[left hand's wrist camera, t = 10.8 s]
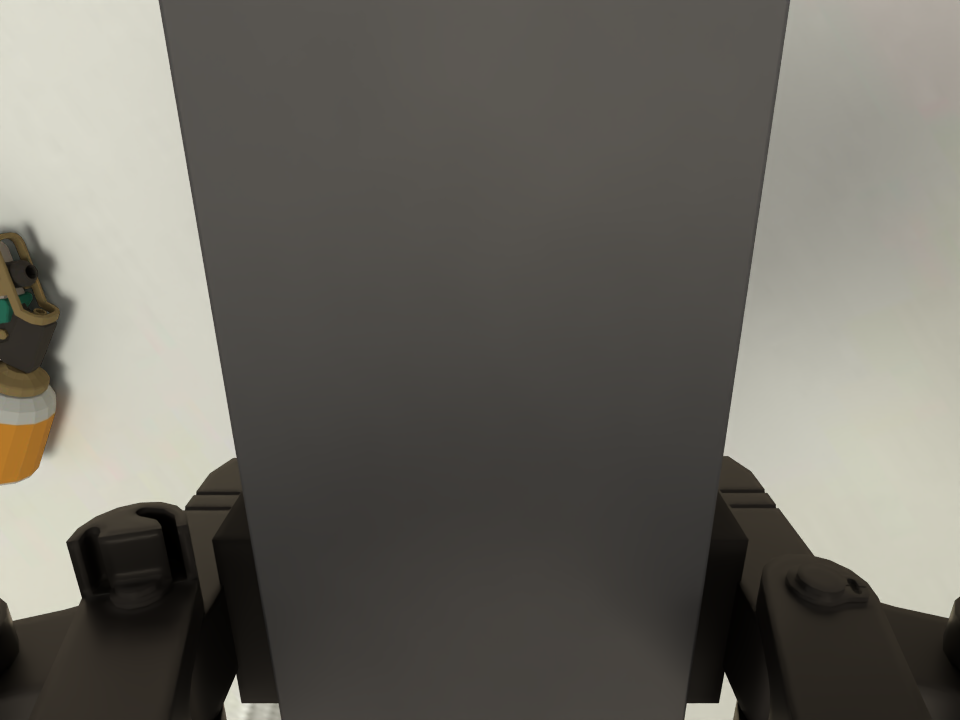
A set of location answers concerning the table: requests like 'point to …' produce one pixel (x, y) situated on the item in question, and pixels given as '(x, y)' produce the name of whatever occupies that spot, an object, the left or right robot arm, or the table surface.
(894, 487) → the table surface
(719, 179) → the beam
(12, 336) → the spray gun
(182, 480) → the table surface
